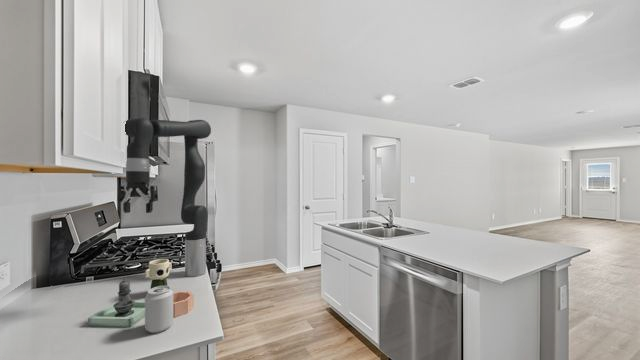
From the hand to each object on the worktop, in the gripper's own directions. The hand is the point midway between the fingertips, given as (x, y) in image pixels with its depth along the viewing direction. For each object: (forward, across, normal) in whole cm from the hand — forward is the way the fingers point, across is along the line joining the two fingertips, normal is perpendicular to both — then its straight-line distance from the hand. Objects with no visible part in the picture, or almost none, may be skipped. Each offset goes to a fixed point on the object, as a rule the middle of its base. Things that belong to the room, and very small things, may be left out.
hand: (137, 212), depth 102 cm
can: (+33, -21, +19) cm, 44 cm away
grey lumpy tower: (+32, -5, +13) cm, 35 cm away
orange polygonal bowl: (+33, -20, +8) cm, 39 cm away
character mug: (+33, -5, -5) cm, 34 cm away
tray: (+33, -5, +13) cm, 36 cm away
